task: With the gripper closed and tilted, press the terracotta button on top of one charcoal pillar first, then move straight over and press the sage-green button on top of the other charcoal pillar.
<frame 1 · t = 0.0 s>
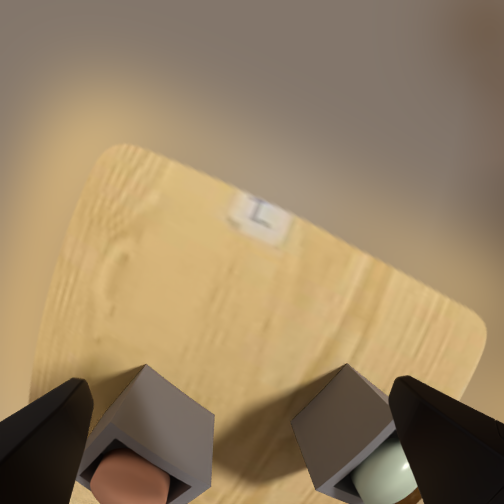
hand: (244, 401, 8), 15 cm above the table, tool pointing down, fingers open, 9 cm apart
terracotta button: (131, 485, 14), point 9 cm above the table, slide at 0.0 cm
sage button post: (344, 412, 24), on the table
terracotta button post: (156, 415, 23), on the table
sage button: (388, 473, 15), point 9 cm above the table, slide at 0.0 cm
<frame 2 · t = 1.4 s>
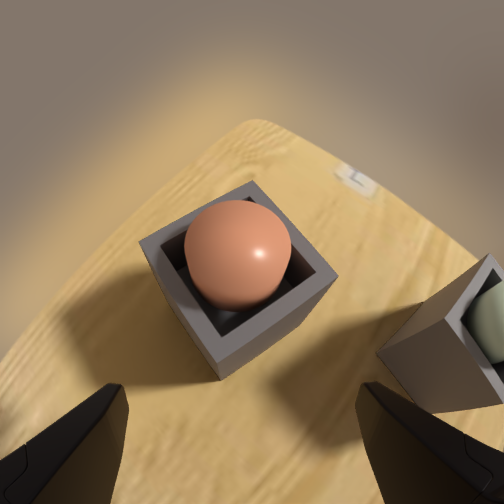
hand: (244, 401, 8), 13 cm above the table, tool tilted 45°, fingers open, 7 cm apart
terracotta button: (237, 256, 15), point 9 cm above the table, slide at 0.0 cm
sage button post: (426, 356, 22), on the table
terracotta button post: (233, 314, 23), on the table
sage button: (503, 322, 14), point 9 cm above the table, slide at 0.0 cm
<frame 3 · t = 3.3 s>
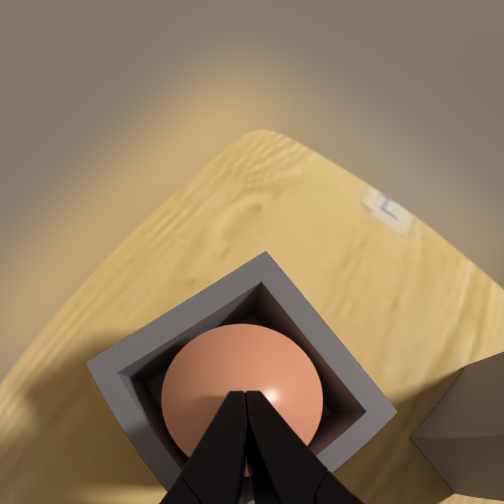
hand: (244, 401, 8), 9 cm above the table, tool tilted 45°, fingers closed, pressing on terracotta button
terracotta button: (241, 401, 9), point 8 cm above the table, slide at 1.3 cm, touching gripper
sage button post: (463, 430, 15), on the table
terracotta button post: (235, 404, 16), on the table
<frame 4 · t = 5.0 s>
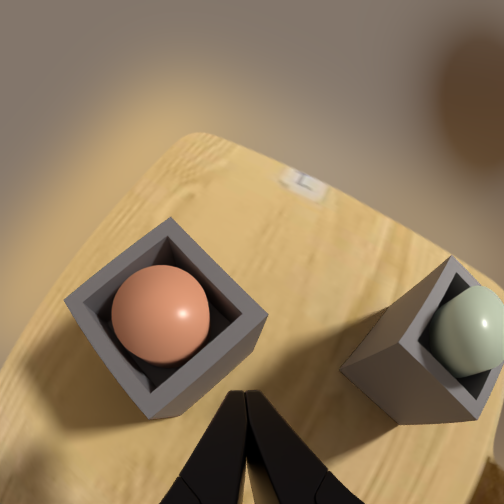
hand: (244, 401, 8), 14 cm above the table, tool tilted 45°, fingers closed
terracotta button: (163, 318, 15), point 8 cm above the table, slide at 1.7 cm
sage button post: (396, 364, 22), on the table
terracotta button post: (183, 348, 21), on the table
sage button: (471, 333, 14), point 9 cm above the table, slide at 0.0 cm
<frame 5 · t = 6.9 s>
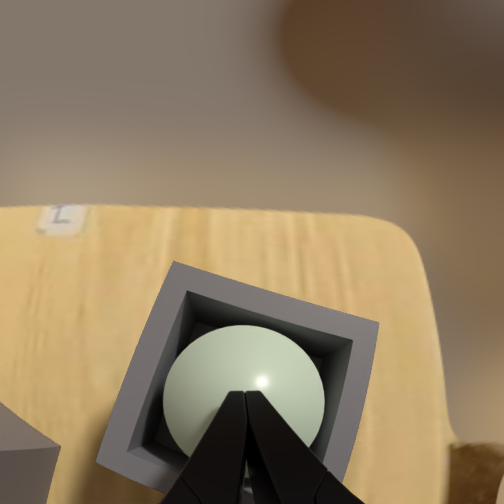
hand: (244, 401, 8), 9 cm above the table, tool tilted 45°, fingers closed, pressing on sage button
sage button post: (236, 405, 16), on the table
terracotta button post: (10, 459, 12), on the table
sage button: (242, 403, 9), point 8 cm above the table, slide at 1.5 cm, touching gripper
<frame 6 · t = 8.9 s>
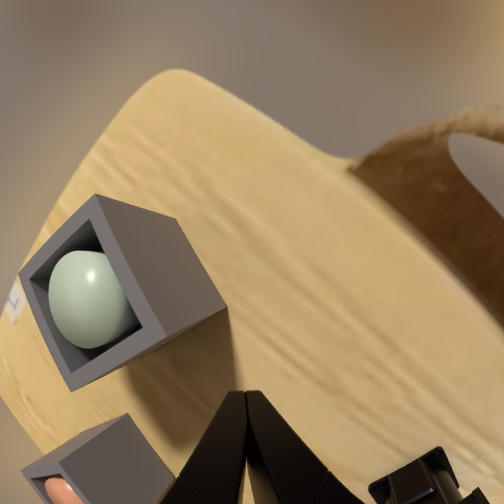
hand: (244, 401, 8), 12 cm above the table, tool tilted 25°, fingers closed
terracotta button: (77, 496, 15), point 8 cm above the table, slide at 1.7 cm
sage button post: (161, 288, 22), on the table
terracotta button post: (125, 454, 22), on the table
sage button: (95, 298, 14), point 8 cm above the table, slide at 1.7 cm
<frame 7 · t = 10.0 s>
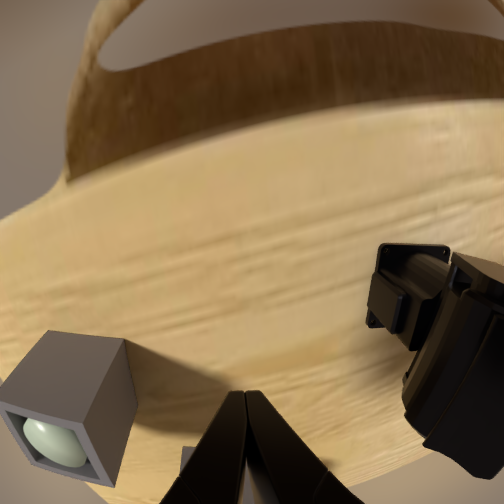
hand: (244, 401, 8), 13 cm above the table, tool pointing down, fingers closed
sage button post: (92, 370, 22), on the table
terracotta button post: (220, 466, 27), on the table
sage button: (59, 433, 15), point 8 cm above the table, slide at 1.7 cm
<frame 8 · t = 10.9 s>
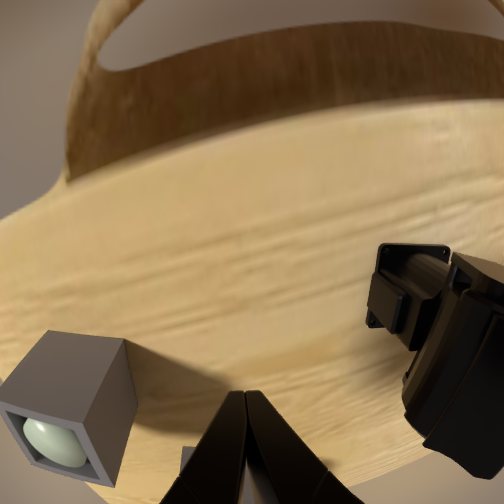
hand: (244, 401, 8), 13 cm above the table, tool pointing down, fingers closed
sage button post: (92, 370, 22), on the table
terracotta button post: (220, 466, 27), on the table
sage button: (59, 433, 15), point 8 cm above the table, slide at 1.7 cm
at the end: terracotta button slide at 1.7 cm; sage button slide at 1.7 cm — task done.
